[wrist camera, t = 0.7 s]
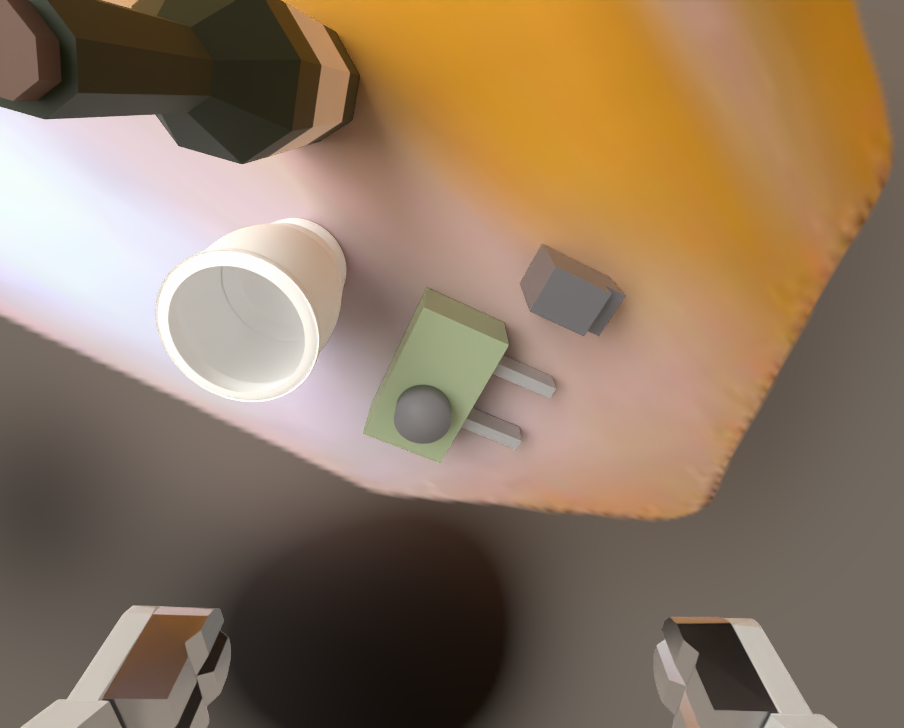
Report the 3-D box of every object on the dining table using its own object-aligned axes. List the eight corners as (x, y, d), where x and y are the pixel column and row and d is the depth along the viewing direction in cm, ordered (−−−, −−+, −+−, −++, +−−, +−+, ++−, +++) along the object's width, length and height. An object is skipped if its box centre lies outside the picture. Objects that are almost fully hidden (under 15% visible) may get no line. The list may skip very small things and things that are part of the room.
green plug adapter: (426, 287, 47) (422, 316, 40) (567, 351, 49) (584, 387, 43) (370, 405, 52) (359, 446, 46) (500, 456, 55) (505, 501, 49)
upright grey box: (541, 243, 45) (555, 266, 39) (609, 276, 46) (633, 304, 40) (519, 283, 46) (529, 311, 40) (585, 314, 48) (604, 346, 42)
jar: (244, 191, 43) (149, 232, 30) (366, 219, 44) (327, 271, 30) (240, 307, 48) (156, 387, 34) (350, 330, 49) (310, 417, 35)
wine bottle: (348, 9, 37) (71, -226, 10) (370, 134, 41) (208, 199, 14) (237, 25, 37) (-302, -159, 11) (269, 147, 41) (-73, 233, 15)
